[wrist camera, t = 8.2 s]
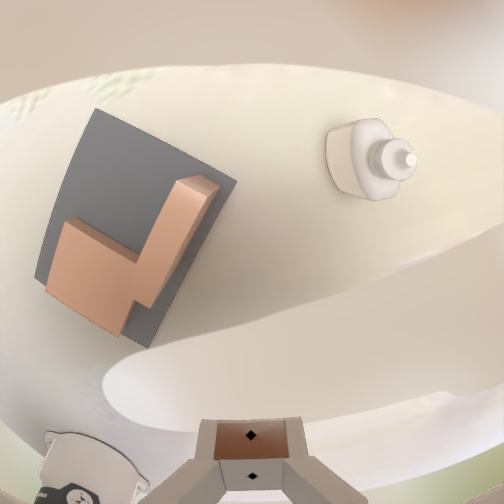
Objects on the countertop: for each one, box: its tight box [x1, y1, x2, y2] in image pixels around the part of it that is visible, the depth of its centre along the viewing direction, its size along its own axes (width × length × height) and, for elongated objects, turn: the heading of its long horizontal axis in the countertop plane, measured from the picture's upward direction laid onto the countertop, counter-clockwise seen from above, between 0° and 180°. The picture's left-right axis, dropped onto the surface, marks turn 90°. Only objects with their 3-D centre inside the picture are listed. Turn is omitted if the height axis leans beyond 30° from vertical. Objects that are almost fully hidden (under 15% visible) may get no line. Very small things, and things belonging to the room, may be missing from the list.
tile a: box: [45, 217, 140, 337], centre depth 27 cm, size 8×2×9 cm
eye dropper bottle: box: [326, 118, 417, 201], centre depth 20 cm, size 4×6×12 cm
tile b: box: [123, 175, 220, 308], centre depth 22 cm, size 8×2×9 cm, turn 150°
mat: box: [34, 108, 237, 348], centre depth 27 cm, size 19×15×1 cm
